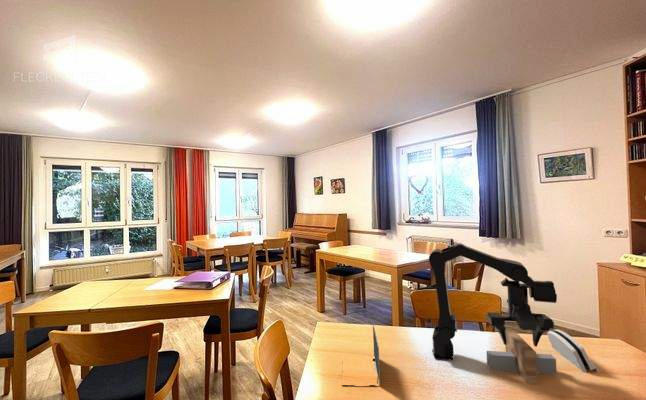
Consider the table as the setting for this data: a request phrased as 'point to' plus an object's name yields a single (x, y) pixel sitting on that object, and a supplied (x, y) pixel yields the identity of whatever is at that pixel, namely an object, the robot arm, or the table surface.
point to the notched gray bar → (508, 363)
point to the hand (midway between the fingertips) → (520, 345)
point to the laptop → (376, 354)
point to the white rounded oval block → (570, 350)
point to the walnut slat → (522, 356)
